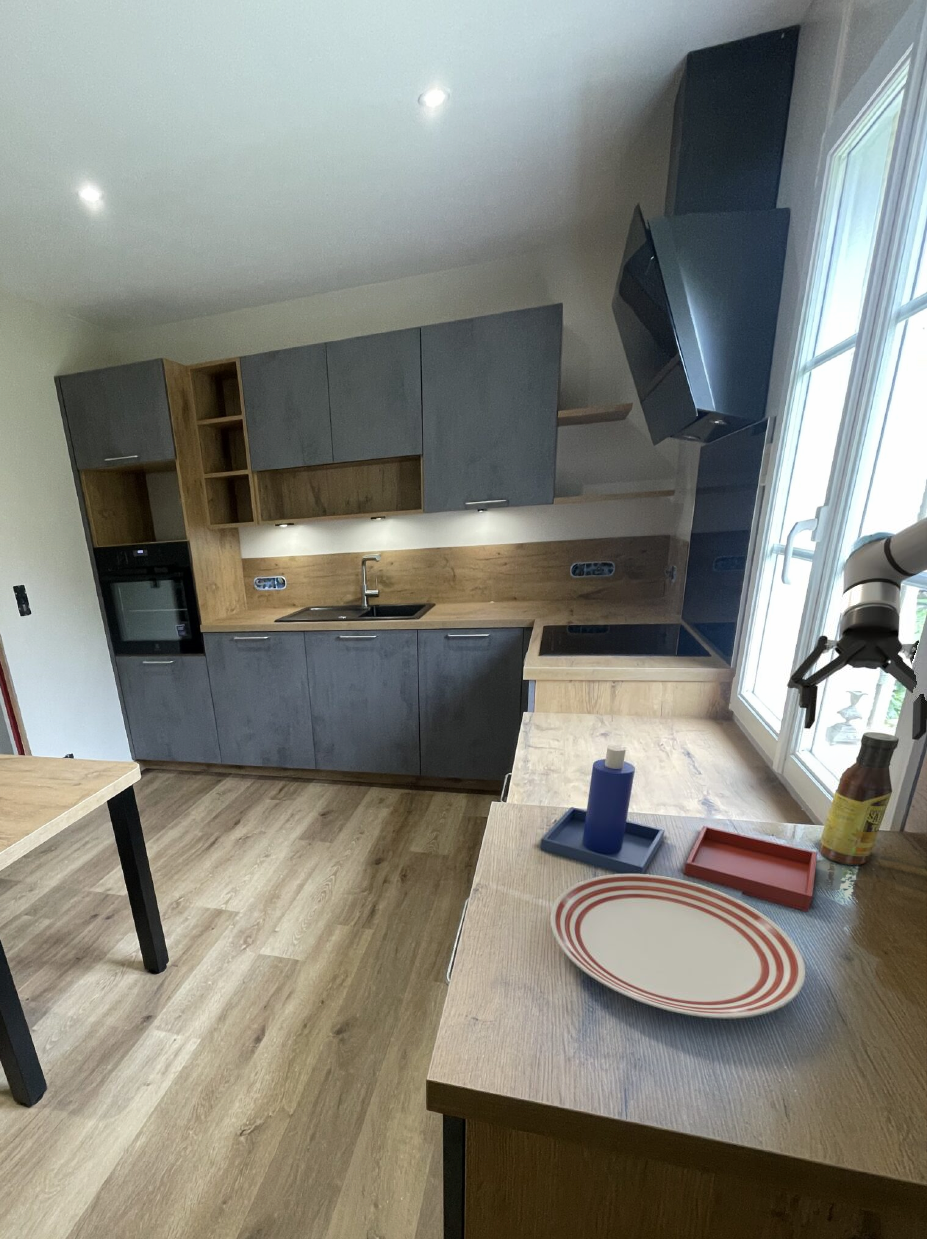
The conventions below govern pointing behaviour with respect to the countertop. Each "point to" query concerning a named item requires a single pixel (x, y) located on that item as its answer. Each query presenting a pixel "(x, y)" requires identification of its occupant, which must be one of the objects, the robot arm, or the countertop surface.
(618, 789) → the blue bottle
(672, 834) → the countertop surface
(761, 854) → the red tray
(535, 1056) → the countertop surface
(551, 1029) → the countertop surface
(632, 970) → the dinner plate
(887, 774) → the sauce bottle
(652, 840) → the blue tray
